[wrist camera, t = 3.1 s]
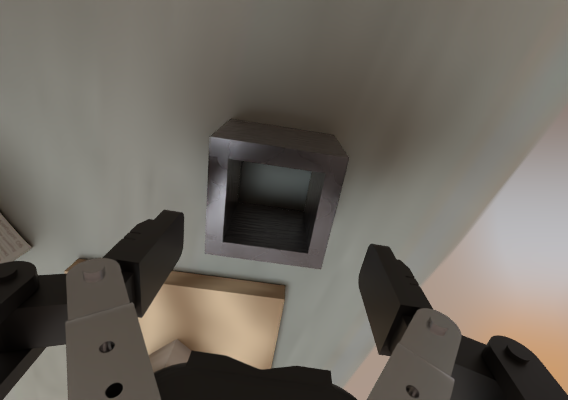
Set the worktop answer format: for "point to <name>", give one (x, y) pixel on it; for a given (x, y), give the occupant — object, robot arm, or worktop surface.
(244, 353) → the post stand
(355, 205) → the worktop surface
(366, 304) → the robot arm
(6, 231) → the supplement box
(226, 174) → the steel collar
